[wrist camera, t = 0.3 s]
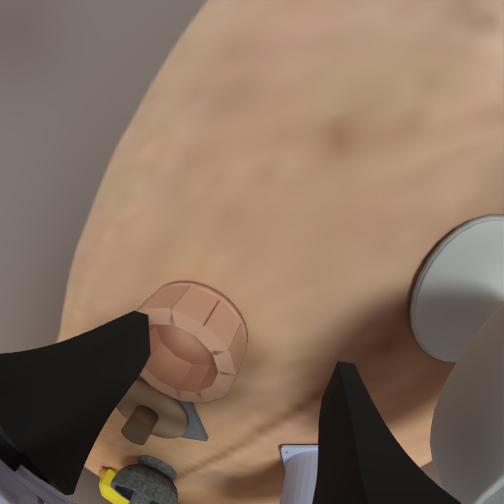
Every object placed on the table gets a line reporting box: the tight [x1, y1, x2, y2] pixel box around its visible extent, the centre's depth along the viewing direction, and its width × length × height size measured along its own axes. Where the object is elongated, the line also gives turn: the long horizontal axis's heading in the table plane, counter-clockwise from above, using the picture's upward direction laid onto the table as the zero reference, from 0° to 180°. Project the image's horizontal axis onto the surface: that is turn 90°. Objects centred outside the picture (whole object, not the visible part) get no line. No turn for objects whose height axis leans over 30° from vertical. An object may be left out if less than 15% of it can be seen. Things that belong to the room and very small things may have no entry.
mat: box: [138, 375, 208, 441], centre depth 28 cm, size 10×10×1 cm
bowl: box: [136, 281, 248, 403], centre depth 21 cm, size 8×8×4 cm
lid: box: [116, 378, 189, 445], centre depth 26 cm, size 9×9×4 cm
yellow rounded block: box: [99, 468, 130, 504], centre depth 39 cm, size 18×7×8 cm
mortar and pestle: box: [110, 456, 178, 504], centre depth 30 cm, size 11×9×12 cm
